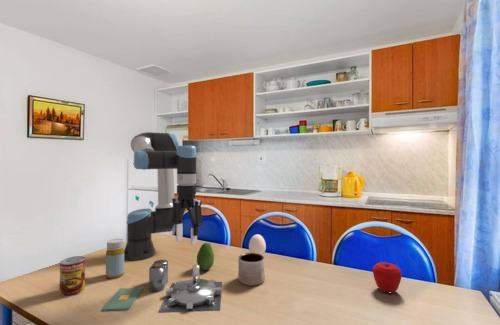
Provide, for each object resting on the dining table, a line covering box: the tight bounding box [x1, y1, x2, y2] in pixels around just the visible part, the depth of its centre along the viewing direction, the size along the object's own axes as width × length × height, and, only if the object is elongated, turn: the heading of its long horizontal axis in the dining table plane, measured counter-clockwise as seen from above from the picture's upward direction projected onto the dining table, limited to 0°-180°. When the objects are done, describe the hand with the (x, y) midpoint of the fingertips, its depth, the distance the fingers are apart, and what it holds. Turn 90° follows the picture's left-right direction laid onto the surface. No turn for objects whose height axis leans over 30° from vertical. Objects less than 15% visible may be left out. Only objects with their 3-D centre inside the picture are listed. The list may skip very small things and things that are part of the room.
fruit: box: [196, 242, 215, 271], centre depth 120 cm, size 8×8×12 cm
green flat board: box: [101, 287, 144, 312], centre depth 94 cm, size 14×8×1 cm, turn 4°
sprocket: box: [165, 264, 222, 309], centre depth 97 cm, size 20×20×8 cm
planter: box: [237, 252, 266, 287], centre depth 109 cm, size 11×11×10 cm
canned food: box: [59, 255, 86, 298], centre depth 100 cm, size 8×8×12 cm
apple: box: [372, 262, 403, 293], centre depth 101 cm, size 10×10×11 cm
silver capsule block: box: [148, 259, 169, 293], centre depth 105 cm, size 12×6×8 cm, turn 4°
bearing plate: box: [158, 281, 223, 313], centre depth 97 cm, size 20×20×1 cm
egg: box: [248, 234, 267, 256], centre depth 136 cm, size 9×9×12 cm
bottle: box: [105, 238, 125, 280], centre depth 113 cm, size 7×7×15 cm
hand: (186, 241), depth 105 cm, fingers open, 7 cm apart
